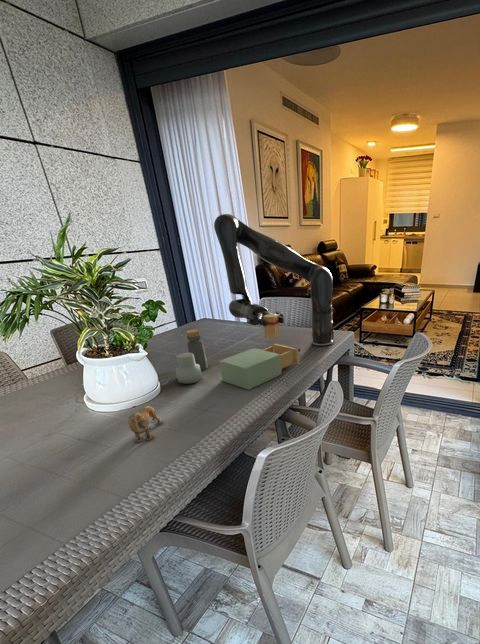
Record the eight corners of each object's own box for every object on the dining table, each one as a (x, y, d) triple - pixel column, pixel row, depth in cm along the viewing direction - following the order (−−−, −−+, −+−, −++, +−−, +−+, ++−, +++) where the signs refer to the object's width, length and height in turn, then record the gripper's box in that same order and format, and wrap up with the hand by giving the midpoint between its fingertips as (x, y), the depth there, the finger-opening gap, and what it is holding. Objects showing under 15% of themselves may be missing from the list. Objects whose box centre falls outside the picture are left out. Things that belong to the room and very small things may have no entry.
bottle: (210, 365, 142) (203, 329, 135) (204, 371, 137) (197, 333, 130) (196, 365, 143) (188, 329, 136) (190, 370, 138) (181, 333, 131)
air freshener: (203, 384, 126) (198, 357, 121) (179, 388, 123) (173, 361, 118) (200, 373, 135) (195, 348, 130) (178, 377, 132) (171, 352, 127)
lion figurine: (154, 446, 91) (145, 416, 87) (132, 449, 90) (121, 419, 86) (163, 419, 103) (155, 392, 99) (143, 422, 102) (135, 394, 98)
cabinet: (256, 366, 140) (254, 348, 136) (281, 374, 132) (280, 354, 128) (222, 381, 128) (219, 360, 124) (248, 389, 120) (245, 368, 117)
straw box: (269, 334, 137) (267, 313, 133) (280, 335, 136) (278, 314, 132) (264, 337, 133) (262, 316, 130) (275, 338, 132) (273, 317, 128)
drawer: (283, 354, 149) (282, 340, 147) (306, 359, 142) (305, 345, 140) (247, 368, 135) (245, 354, 133) (271, 375, 129) (269, 360, 126)
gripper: (238, 307, 138) (254, 314, 125) (271, 302, 144) (290, 309, 132) (240, 326, 141) (257, 335, 129) (273, 320, 148) (291, 328, 135)
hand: (274, 322), depth 130 cm, fingers closed on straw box, 6 cm apart
